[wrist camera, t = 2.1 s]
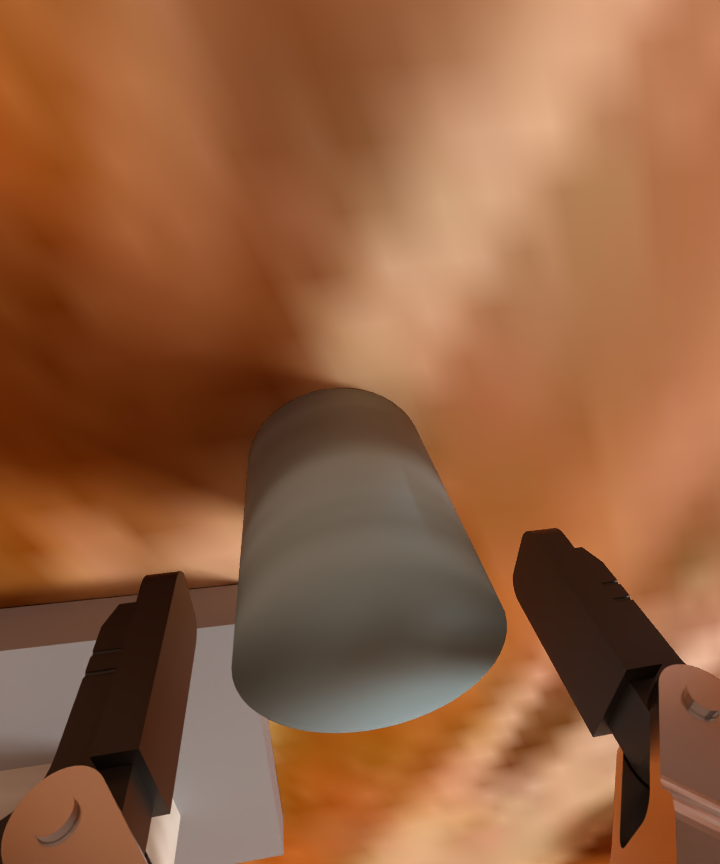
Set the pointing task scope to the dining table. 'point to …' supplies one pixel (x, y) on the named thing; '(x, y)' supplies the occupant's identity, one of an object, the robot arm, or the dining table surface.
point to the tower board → (202, 733)
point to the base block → (12, 785)
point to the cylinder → (355, 573)
